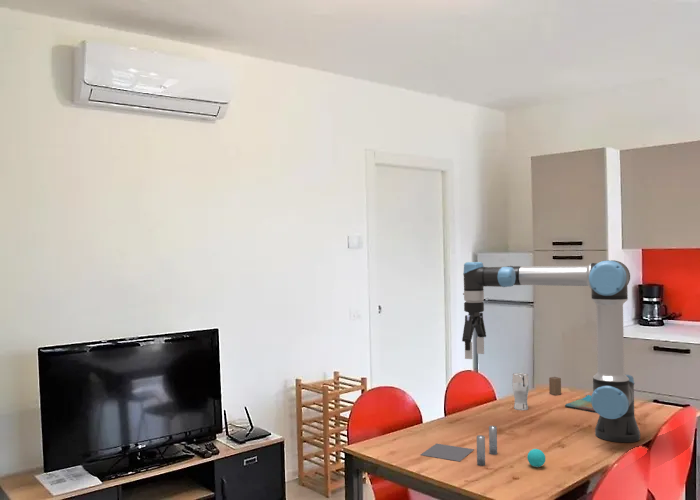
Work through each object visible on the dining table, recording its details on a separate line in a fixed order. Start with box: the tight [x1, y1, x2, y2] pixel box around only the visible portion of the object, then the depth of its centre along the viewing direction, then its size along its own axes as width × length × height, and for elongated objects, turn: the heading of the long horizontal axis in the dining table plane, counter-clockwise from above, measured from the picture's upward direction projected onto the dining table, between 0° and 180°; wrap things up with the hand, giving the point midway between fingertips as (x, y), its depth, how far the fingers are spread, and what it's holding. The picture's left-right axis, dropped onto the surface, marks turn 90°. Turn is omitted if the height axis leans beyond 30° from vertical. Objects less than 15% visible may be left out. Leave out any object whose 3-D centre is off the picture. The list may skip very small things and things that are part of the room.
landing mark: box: [419, 443, 475, 463], centre depth 210 cm, size 14×14×1 cm
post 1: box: [476, 434, 486, 467], centre depth 197 cm, size 3×3×9 cm
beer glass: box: [511, 372, 530, 411], centre depth 268 cm, size 7×7×15 cm
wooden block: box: [548, 376, 562, 396], centre depth 294 cm, size 4×4×8 cm
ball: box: [526, 448, 546, 468], centre depth 195 cm, size 6×6×6 cm
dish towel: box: [564, 394, 598, 414], centre depth 271 cm, size 17×23×2 cm
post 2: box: [488, 425, 498, 456], centre depth 208 cm, size 3×3×9 cm
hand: (474, 356), depth 239 cm, fingers open, 13 cm apart
